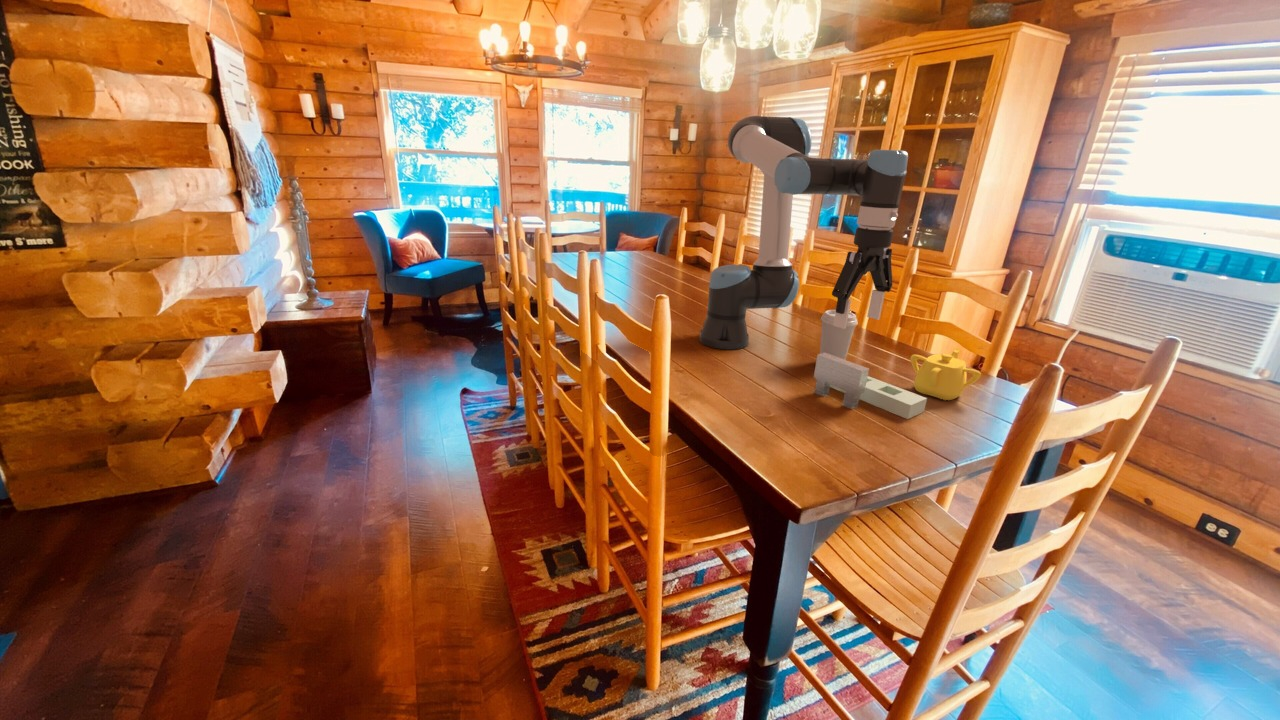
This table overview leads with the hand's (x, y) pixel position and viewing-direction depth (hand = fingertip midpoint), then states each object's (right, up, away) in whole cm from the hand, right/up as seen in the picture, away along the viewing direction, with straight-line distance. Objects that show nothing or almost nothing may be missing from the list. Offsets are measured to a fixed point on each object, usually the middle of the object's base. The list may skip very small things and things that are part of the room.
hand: (856, 322), depth 120 cm
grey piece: (-3, -18, +6) cm, 19 cm away
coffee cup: (+4, -10, +28) cm, 30 cm away
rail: (+7, -18, +8) cm, 21 cm away
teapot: (+26, -17, +13) cm, 33 cm away
